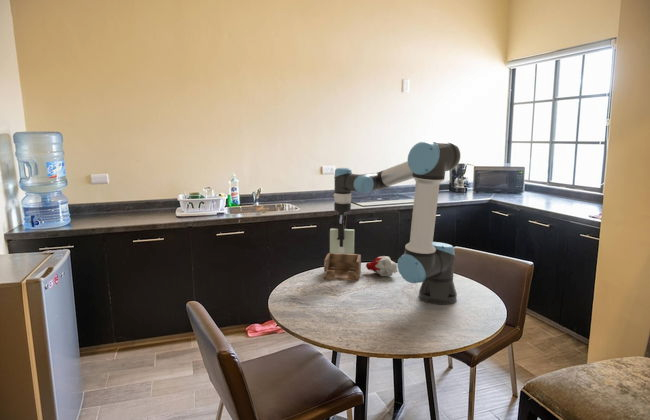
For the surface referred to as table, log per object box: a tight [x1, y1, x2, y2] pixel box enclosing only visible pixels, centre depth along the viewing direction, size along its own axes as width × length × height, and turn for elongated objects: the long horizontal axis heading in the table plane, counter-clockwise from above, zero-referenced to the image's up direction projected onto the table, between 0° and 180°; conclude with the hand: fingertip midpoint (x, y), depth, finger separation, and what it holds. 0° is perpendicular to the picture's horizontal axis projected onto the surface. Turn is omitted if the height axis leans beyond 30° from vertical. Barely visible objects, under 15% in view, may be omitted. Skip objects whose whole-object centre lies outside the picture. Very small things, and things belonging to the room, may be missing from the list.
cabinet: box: [323, 252, 362, 282], centre depth 210 cm, size 16×13×9 cm
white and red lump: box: [365, 255, 398, 277], centre depth 213 cm, size 9×11×15 cm
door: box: [329, 228, 355, 254], centre depth 205 cm, size 11×2×11 cm, turn 81°
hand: (341, 252), depth 206 cm, fingers closed on door, 2 cm apart
